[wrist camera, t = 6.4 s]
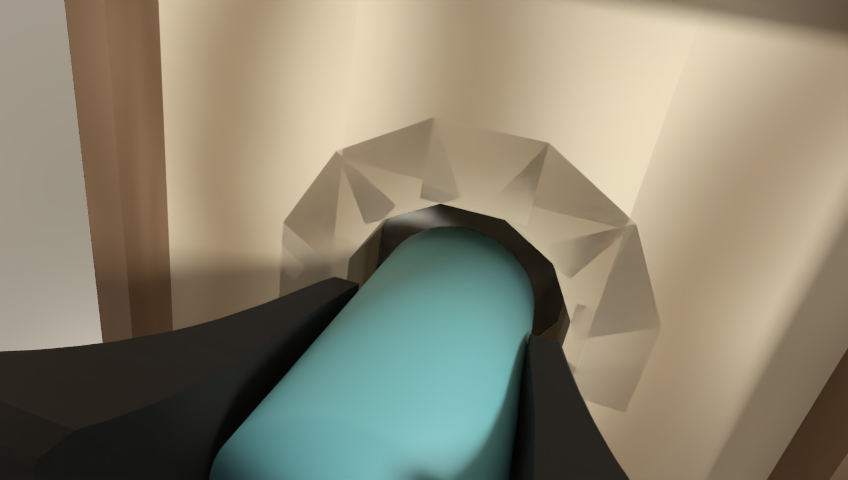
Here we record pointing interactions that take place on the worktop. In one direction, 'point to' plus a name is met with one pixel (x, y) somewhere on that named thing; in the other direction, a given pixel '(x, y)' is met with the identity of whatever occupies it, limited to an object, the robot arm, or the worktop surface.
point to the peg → (403, 375)
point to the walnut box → (505, 187)
